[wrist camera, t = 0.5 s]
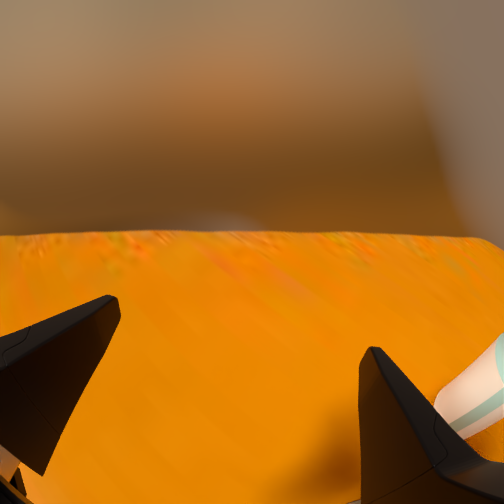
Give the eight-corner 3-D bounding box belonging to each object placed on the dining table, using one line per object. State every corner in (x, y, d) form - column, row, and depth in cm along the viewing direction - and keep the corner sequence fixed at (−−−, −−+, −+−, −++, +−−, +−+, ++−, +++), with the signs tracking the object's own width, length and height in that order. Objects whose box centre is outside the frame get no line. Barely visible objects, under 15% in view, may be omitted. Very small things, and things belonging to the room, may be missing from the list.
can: (451, 375, 22) (517, 306, 14) (482, 413, 17) (555, 353, 10) (418, 413, 19) (499, 348, 12) (452, 456, 15) (542, 406, 7)
